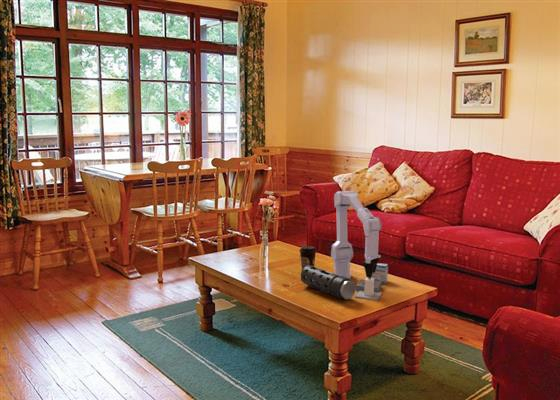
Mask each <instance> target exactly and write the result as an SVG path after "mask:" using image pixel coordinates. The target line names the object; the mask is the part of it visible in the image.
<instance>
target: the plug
mask: <svg viewBox="0 0 560 400" xmlns="http://www.w3.org/2000/svg"><path fill="white" fill-rule="evenodd" d="M364 280H365V283H364V295H369V296H372V295H373V294H374V278H369V277H366V278H365V279H364Z"/></svg>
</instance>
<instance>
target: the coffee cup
mask: <svg viewBox="0 0 560 400" xmlns="http://www.w3.org/2000/svg"><path fill="white" fill-rule="evenodd" d="M299 253H300V254H299V255H300V256H299V259H300V266H301V270H300V271H301V272H302V270H303V269H304V268H305V267H306V266H308V265H311V266H314V267H315V263H316V254H317V249H316V247H315V246H310V245H303V246H301V247H300V249H299ZM307 272H308V271H307Z"/></svg>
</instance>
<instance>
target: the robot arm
mask: <svg viewBox="0 0 560 400" xmlns="http://www.w3.org/2000/svg"><path fill="white" fill-rule="evenodd" d="M333 200H334V208H336V209H335V210H336V241H335V242H334V243H332V245H331V250H330V257H331V259H332V261H334V264H333V265H334V267H333V269H334V271H333V272H334V273H333V274H336V275H339V276H343V277H346V278H349V279H351V278H352V276H353V275H352V274H351V260H352V259H353V257H354V250H353V244H352V243H350V242H349V241H348V210H349V208H350V207H352V208H353V210H355V212H356V215H357V218H358V219H359V220H360V222H361V223H362V226H363V231H364V236H365V242H364V244H365V246H364V259H365V260H363V261H361V262H362V265H363V268H364V272H365V277H366V278H368V277H369V278H371V277H372V273H375V271H376V267H377V263H379V261H380V259H381V257H382V255H381V254H379V241H380V239H379V235H380V231H381V230H382V227H383V224H382V221H381V219H380V218H379V217H377V216H374V214H372V212H371V211H370V210H369V208H367V207H364V206H363V204H362V203H361V201H360V199H359V194H358V192H357V191H356V190H346V191H345V190H343V191H339V190H338V191H336V193H334V195H333Z"/></svg>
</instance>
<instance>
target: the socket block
mask: <svg viewBox="0 0 560 400" xmlns="http://www.w3.org/2000/svg"><path fill="white" fill-rule="evenodd" d="M364 283H365V279H360V280H359V281H358V282H357V284H355V286H356V290H355V292H359V291H360V290H363V291H364ZM382 284H383V283H382V282H379V281H374V292H380V290H381V288H382V287H383V285H382Z"/></svg>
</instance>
